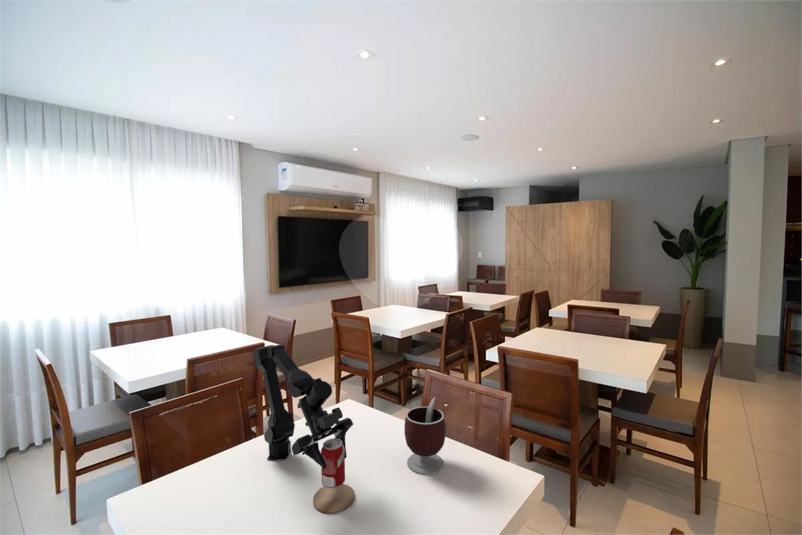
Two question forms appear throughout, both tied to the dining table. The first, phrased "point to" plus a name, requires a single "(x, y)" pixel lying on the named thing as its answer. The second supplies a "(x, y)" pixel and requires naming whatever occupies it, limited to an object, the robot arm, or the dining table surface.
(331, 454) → the soda can
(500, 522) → the dining table surface
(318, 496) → the coaster
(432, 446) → the mate gourd
